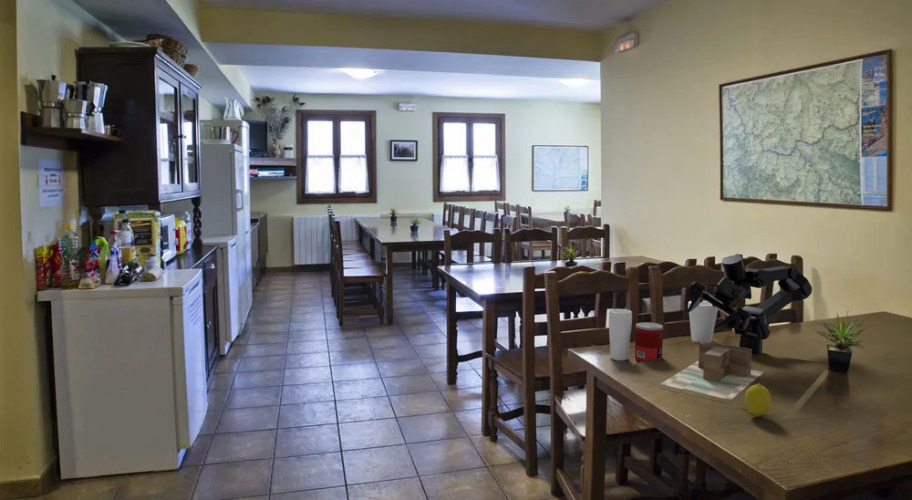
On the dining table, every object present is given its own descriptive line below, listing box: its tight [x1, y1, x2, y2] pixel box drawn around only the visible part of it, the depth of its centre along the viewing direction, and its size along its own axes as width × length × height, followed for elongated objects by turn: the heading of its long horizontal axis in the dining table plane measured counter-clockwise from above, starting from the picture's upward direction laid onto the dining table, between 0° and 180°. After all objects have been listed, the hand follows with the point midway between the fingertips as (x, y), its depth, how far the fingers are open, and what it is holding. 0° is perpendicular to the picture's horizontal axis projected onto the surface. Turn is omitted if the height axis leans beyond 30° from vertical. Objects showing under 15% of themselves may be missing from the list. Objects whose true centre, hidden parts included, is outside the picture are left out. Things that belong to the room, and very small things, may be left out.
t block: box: [698, 341, 753, 382], centre depth 174 cm, size 13×13×7 cm
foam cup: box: [687, 300, 719, 344], centre depth 214 cm, size 10×9×13 cm
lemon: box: [744, 383, 772, 418], centre depth 146 cm, size 6×6×8 cm
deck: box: [659, 359, 765, 405], centre depth 171 cm, size 29×18×1 cm, turn 139°
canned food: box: [634, 322, 664, 363], centre depth 191 cm, size 8×8×11 cm
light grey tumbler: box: [608, 308, 633, 362], centre depth 192 cm, size 7×7×15 cm
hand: (701, 319), depth 183 cm, fingers open, 9 cm apart
